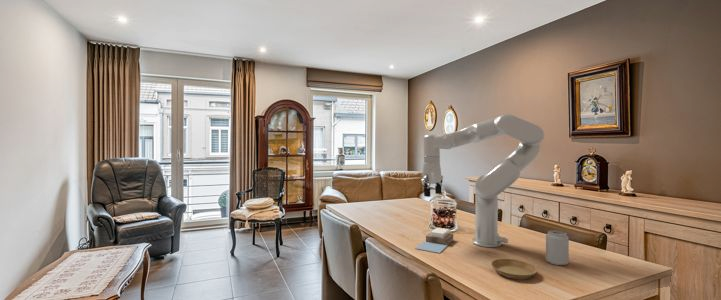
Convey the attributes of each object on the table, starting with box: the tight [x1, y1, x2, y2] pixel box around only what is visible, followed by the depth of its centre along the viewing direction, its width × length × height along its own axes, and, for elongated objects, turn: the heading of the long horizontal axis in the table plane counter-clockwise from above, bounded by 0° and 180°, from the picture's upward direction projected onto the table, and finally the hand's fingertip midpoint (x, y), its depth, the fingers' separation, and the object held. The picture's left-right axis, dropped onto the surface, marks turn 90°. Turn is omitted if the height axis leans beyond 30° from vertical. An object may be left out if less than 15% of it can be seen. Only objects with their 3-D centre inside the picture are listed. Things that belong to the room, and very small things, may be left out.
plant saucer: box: [490, 258, 538, 280], centre depth 113 cm, size 15×15×3 cm
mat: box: [414, 241, 449, 254], centre depth 141 cm, size 11×11×1 cm
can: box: [545, 229, 570, 266], centre depth 122 cm, size 8×8×12 cm
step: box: [425, 232, 454, 245], centre depth 150 cm, size 10×10×3 cm
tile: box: [430, 227, 450, 238], centre depth 151 cm, size 6×9×2 cm, turn 147°
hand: (433, 195), depth 154 cm, fingers open, 9 cm apart
